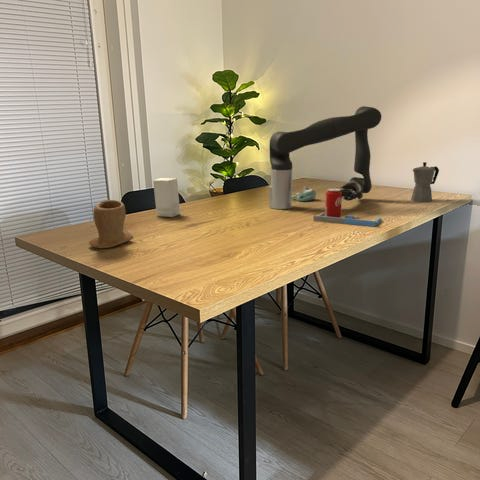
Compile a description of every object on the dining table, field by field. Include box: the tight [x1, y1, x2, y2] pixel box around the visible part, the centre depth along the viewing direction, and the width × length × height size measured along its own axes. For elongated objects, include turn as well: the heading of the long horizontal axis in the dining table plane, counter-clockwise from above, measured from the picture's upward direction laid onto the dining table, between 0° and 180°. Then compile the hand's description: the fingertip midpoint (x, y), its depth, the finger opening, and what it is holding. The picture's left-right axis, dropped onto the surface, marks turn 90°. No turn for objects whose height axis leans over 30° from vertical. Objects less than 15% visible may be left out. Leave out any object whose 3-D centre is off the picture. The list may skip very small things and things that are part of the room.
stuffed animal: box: [292, 186, 317, 203], centre depth 227 cm, size 11×7×12 cm
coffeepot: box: [410, 161, 440, 203], centre depth 220 cm, size 15×9×18 cm, turn 113°
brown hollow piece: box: [88, 199, 134, 249], centre depth 156 cm, size 15×12×15 cm
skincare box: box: [152, 177, 181, 218], centre depth 197 cm, size 8×7×16 cm
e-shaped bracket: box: [313, 211, 382, 228], centre depth 185 cm, size 24×11×2 cm, turn 62°
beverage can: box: [324, 187, 343, 218], centre depth 187 cm, size 6×6×12 cm
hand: (340, 196), depth 195 cm, fingers open, 8 cm apart
